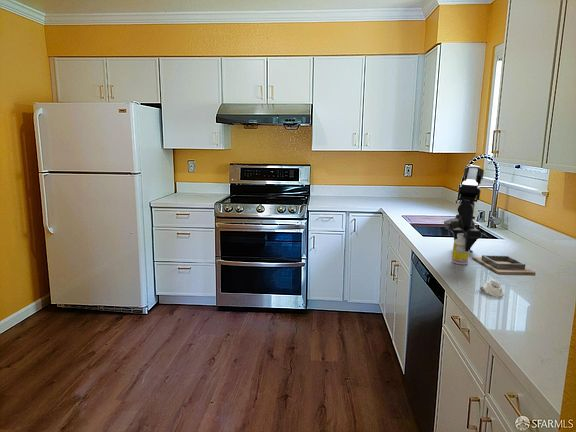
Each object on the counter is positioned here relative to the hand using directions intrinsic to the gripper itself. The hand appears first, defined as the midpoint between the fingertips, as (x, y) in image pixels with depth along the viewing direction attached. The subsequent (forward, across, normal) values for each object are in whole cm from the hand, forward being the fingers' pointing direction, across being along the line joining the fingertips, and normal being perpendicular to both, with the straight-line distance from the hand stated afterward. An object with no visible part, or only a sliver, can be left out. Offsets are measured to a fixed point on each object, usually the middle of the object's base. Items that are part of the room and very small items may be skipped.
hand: (461, 248), depth 173 cm
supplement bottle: (+7, 0, 0) cm, 7 cm away
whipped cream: (+7, +34, -5) cm, 36 cm away
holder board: (+6, +4, +17) cm, 19 cm away
